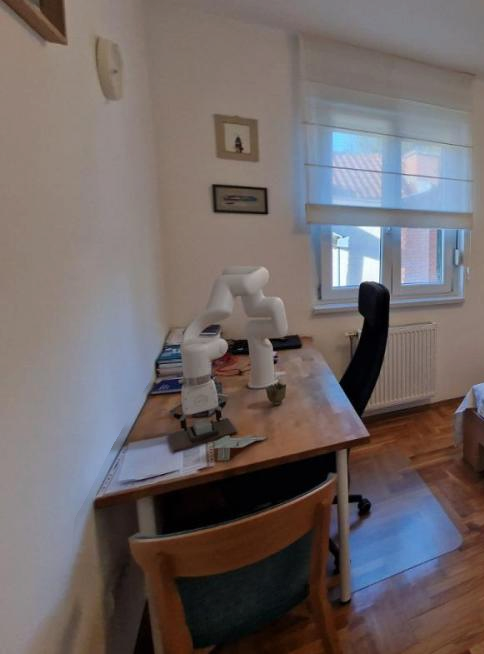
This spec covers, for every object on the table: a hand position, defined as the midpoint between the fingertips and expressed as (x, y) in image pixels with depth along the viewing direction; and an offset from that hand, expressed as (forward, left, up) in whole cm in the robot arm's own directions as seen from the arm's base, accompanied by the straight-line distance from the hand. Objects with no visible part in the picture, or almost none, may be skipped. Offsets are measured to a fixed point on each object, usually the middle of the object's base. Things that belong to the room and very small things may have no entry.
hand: (202, 424), depth 147 cm
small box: (-5, -21, -4) cm, 22 cm away
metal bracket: (-6, +18, -4) cm, 19 cm away
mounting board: (0, 0, -4) cm, 4 cm away
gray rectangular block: (0, 0, -3) cm, 3 cm away
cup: (-27, -9, -4) cm, 29 cm away
